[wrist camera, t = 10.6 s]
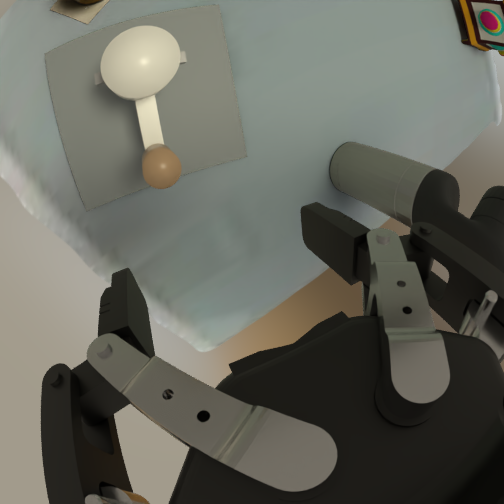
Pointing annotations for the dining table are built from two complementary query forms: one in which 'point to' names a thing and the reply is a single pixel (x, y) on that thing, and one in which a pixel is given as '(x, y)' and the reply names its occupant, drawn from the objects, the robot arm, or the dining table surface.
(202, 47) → the board
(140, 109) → the cream maraca
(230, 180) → the dining table surface
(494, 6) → the decorative lantern
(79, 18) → the condiment
